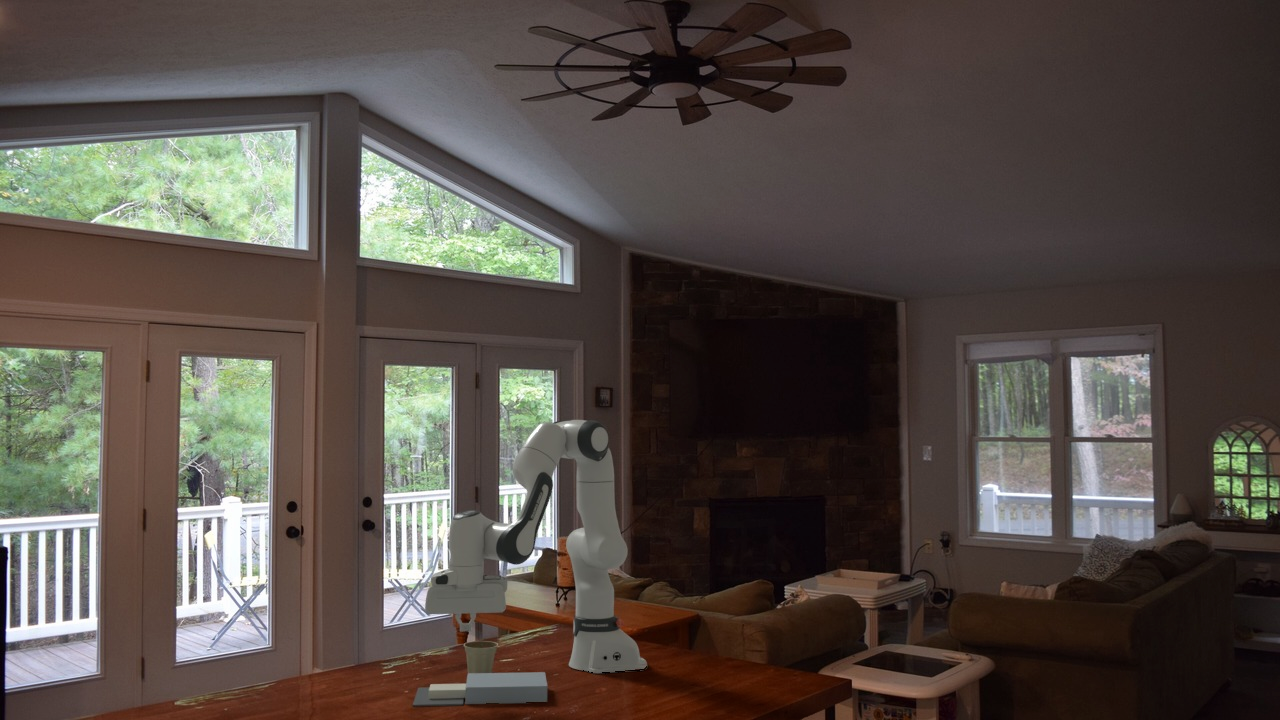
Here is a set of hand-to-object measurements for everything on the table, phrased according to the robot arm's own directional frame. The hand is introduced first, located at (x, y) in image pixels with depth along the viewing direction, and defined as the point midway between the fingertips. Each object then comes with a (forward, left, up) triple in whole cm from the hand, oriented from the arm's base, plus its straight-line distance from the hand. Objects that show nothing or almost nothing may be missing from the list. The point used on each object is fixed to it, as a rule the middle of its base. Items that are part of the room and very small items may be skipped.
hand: (465, 631), depth 245 cm
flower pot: (-4, -20, -16) cm, 26 cm away
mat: (+6, 0, -16) cm, 17 cm away
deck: (-11, 0, -16) cm, 19 cm away
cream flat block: (+4, 0, -16) cm, 16 cm away
